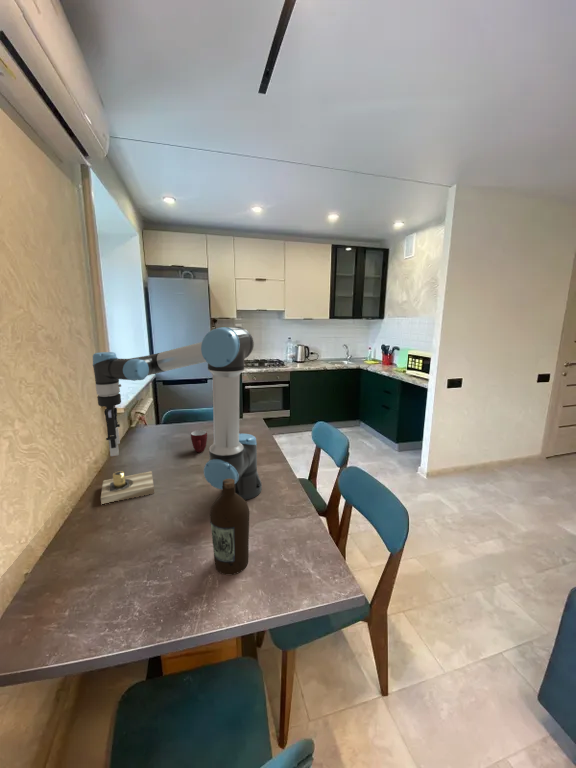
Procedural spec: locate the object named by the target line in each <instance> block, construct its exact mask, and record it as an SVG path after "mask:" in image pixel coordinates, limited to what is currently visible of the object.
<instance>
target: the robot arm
mask: <svg viewBox="0 0 576 768" xmlns="http://www.w3.org/2000/svg"><path fill="white" fill-rule="evenodd" d="M254 345H255V343H254V338H253V336H252V334H251V333H250V331H248V330H247V329H246V328H243V327H241V326H230V327H229V326H226V327H225V326H222V327H216V328H213V329H211V330H210V331H208V332H207V333H206V334H205V336H203V338H202V341H201V342H195V343H193V344H189V345H185V346H181V347H177V348H173V349H170V350H165V351H161V352H157V353H152V354H150V355H149V354H148V355H144V356H137V357H131V358H118V357H117V354H116V352H113V351H101V352H95V353H93V355H92V366H93V373H94V380H95V391H96V395H98V396H97V397H96V398H97V405H98V406H100V407H101V408H102V407H105V409H104V415H105V422H106V429H107V430H106V431H107V437H105V440H106V441H108V447H109V455H110V457H115V456H119V454H120V451H119V444H121V442H120V432H119V428H120V427H121V426H120V424H119V421H118V407H116V406H118V405H119V406H120V404H121V403H122V395H121V394H120V392H121V390H120V388H121V387H122V384H121V383H120V380H125V381H126V380H127V381H132V382H133V381H134V382H135V381H143V380H145V379H146V378H147V377H148V376H150V375H151V376H152V375H155V374H161V373H163V372H167V371H173V370H176V369H181V368H186V367H189V366H195V365H198V364H203V363H207V370H208V372H209V373H211V374H212V400H213V402H212V403H213V406H212V407H213V410H212V411H213V412H212V413H213V415H212V416H213V418H212V419H213V421H212V423H213V443H212V444H211V445H210V446H209V449H208V450H209V451H208V452H209V454H208V456H209V458H208V461H207V462H206V463H205V465H204V467H203V477H204V478H205V481H206V482H207V483H209V484H210V485H211V486H212V487H213V488H216V489H218V490H223V489H222V486H223V480H225V479H234V481H235V493H237V494H238V495H239V496H241V497H242V498H243V499H244V500H245V501H247V500H250V499H254V498H256V497H257V496H258V495H260V494H261V493H262V480H261V478H260V476H259V472H258V455H257V454H258V453H257V452H258V451H257V449H258V447H257V445H258V443H257V438H256V436H254V435H253V434H249V433H240V375H241V374H242V373H243V372H244V371H245V359H247V358H248V357H249V356H250V355H251V354H252V352H253V350H254Z"/></svg>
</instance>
